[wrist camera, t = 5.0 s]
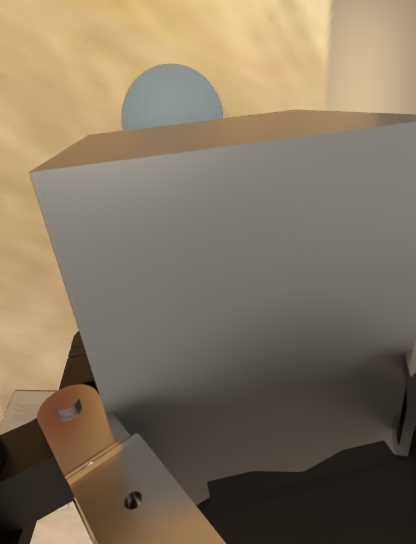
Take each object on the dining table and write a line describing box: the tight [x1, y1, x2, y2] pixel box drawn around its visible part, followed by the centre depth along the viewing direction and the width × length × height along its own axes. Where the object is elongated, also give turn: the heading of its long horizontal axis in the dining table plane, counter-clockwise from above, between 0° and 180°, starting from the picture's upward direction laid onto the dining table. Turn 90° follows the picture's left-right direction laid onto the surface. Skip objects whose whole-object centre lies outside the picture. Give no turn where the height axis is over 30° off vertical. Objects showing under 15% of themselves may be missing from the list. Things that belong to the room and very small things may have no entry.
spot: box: [122, 64, 223, 131], centre depth 25 cm, size 7×7×1 cm
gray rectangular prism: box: [29, 110, 416, 505], centre depth 11 cm, size 12×7×7 cm, turn 6°
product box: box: [0, 391, 70, 510], centre depth 31 cm, size 6×6×7 cm
